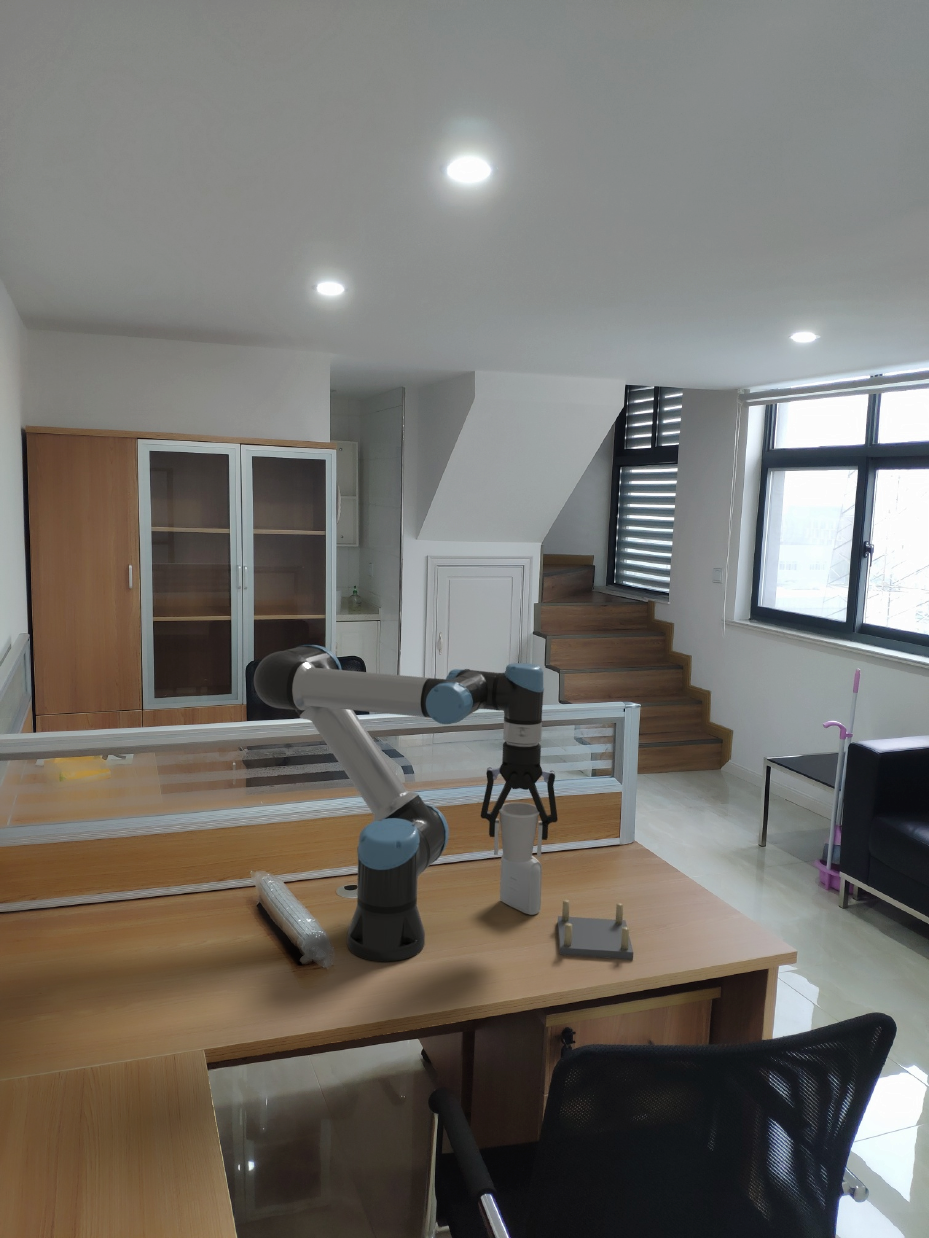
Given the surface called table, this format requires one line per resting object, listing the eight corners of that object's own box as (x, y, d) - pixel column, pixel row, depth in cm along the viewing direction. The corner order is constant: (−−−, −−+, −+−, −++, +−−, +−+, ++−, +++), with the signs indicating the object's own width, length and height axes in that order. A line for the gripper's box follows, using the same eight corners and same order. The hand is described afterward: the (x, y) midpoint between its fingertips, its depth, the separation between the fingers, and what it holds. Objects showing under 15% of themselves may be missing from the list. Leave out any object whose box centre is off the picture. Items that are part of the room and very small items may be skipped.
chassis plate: (559, 954, 170) (561, 927, 170) (557, 922, 184) (558, 897, 184) (632, 959, 169) (634, 932, 169) (625, 927, 183) (626, 901, 183)
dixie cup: (539, 865, 172) (541, 816, 171) (497, 864, 172) (499, 814, 171) (536, 850, 180) (538, 802, 179) (495, 848, 180) (497, 801, 179)
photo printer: (496, 900, 194) (498, 846, 193) (511, 896, 197) (513, 842, 196) (528, 917, 186) (531, 861, 185) (543, 912, 189) (545, 856, 188)
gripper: (468, 744, 171) (464, 857, 173) (575, 749, 169) (570, 863, 172) (470, 735, 178) (467, 843, 181) (573, 740, 177) (568, 849, 179)
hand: (517, 853), depth 176 cm, fingers closed on dixie cup, 8 cm apart
